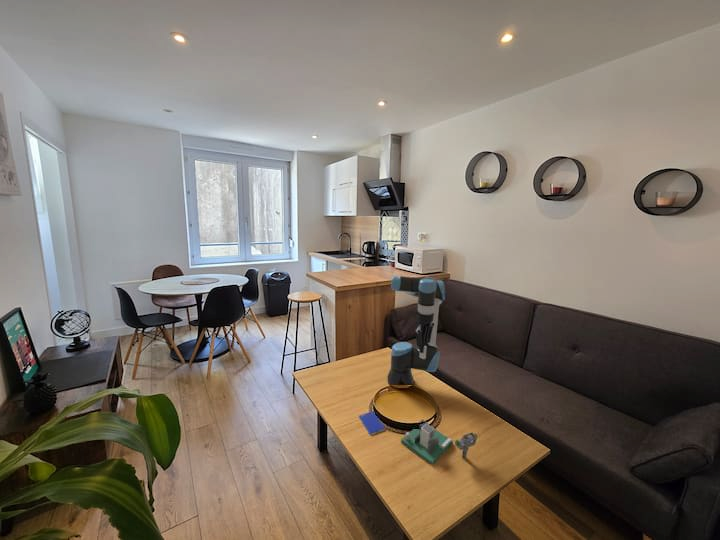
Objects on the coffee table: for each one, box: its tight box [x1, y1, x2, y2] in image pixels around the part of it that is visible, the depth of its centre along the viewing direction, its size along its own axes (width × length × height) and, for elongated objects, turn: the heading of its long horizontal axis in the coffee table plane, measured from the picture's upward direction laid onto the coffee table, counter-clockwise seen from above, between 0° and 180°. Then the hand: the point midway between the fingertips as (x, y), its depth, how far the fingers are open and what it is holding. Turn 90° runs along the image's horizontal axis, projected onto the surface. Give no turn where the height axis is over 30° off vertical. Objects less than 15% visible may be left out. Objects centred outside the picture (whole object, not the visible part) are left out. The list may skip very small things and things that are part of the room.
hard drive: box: [358, 410, 387, 436], centre depth 144 cm, size 2×8×12 cm
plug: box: [420, 422, 435, 449], centre depth 129 cm, size 4×5×8 cm
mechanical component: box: [454, 432, 478, 460], centre depth 124 cm, size 3×10×10 cm, turn 113°
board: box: [400, 419, 454, 466], centre depth 132 cm, size 16×16×4 cm
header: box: [415, 434, 439, 454], centre depth 130 cm, size 7×7×4 cm
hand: (422, 357), depth 146 cm, fingers closed
